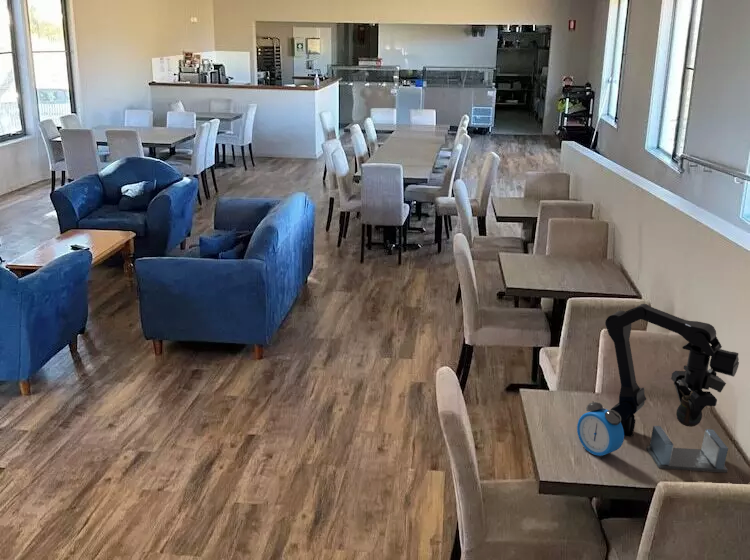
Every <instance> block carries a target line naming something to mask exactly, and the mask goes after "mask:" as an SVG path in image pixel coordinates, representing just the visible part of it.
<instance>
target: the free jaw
mask: <svg viewBox="0 0 750 560" xmlns="http://www.w3.org/2000/svg"><path fill="white" fill-rule="evenodd" d="M650 436H651V437H650V443H649V446H651V448H652V450H653V451H654V453H655V454H656V456H657V458H658V459H659V461H660V462H661V464H662V465H669V463H670V461H671V456H672V451H673V448H674V443H673V441H672V440H671V438H669V435H667V433H666V432H665V430H664V429H663V428H662V426H661V425H653V426H652V432H651V435H650Z"/></svg>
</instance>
